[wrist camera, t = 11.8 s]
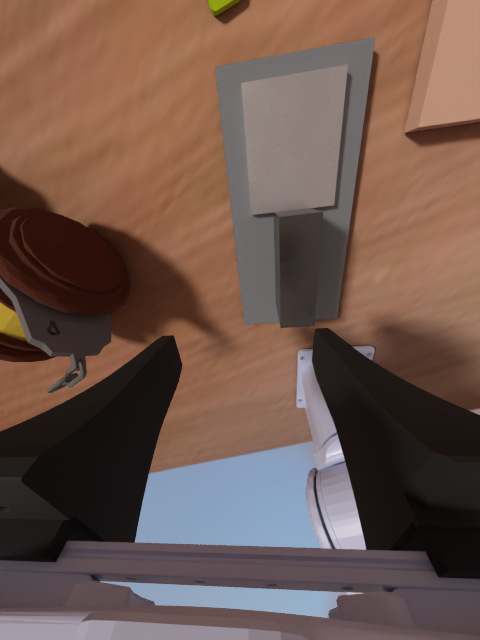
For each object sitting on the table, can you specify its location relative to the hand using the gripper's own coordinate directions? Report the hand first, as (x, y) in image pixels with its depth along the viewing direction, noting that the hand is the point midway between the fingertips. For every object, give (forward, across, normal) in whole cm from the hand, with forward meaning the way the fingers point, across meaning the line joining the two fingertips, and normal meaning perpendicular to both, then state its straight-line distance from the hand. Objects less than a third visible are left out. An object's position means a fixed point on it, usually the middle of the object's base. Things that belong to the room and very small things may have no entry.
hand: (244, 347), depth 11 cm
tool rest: (+10, -4, -4) cm, 12 cm away
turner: (+10, -4, -4) cm, 11 cm away
